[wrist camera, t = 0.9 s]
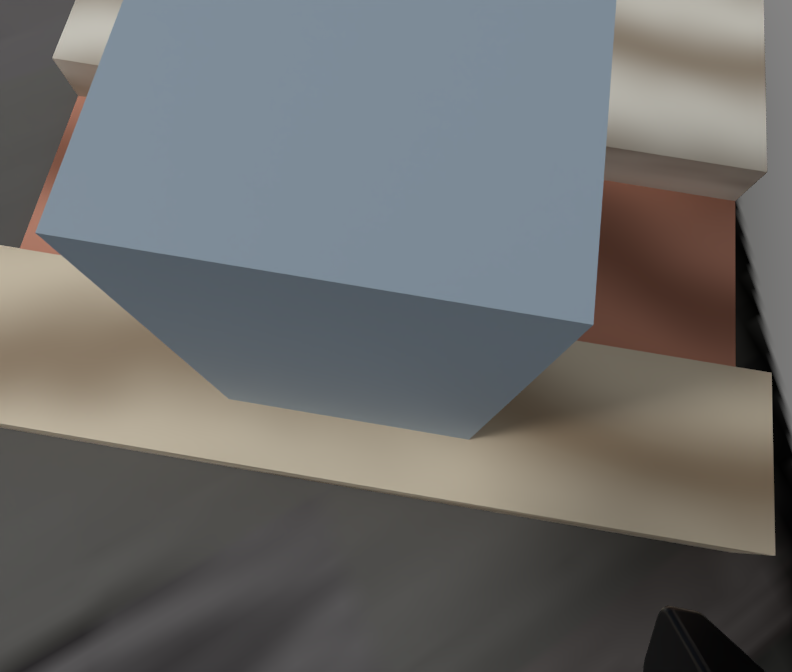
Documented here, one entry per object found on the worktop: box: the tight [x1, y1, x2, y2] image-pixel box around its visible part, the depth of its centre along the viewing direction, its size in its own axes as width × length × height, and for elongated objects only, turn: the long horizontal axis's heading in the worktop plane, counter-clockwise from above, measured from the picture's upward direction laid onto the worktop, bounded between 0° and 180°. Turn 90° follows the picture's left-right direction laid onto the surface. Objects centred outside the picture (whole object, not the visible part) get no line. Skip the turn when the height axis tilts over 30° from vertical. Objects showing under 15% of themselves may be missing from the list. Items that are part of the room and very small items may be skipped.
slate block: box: [35, 0, 616, 440], centre depth 16 cm, size 8×8×12 cm
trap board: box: [0, 0, 775, 556], centre depth 24 cm, size 25×28×2 cm
